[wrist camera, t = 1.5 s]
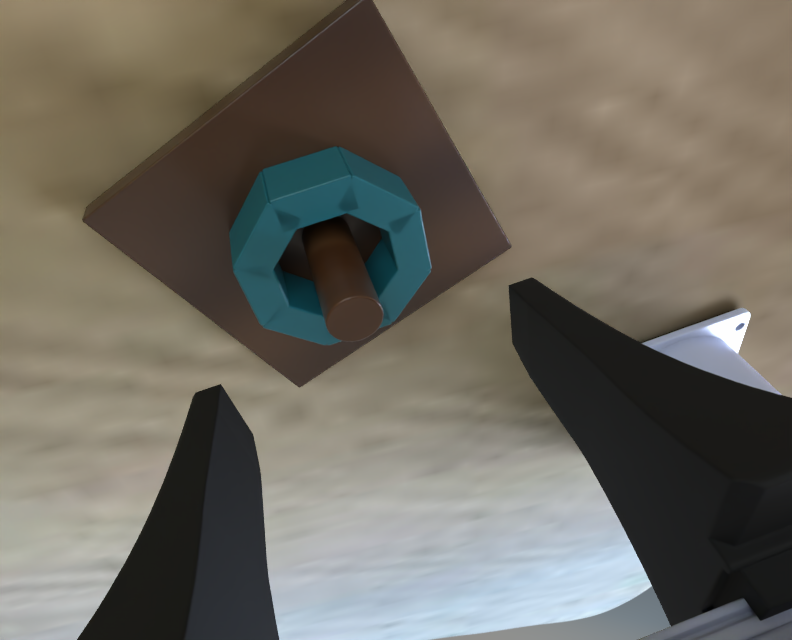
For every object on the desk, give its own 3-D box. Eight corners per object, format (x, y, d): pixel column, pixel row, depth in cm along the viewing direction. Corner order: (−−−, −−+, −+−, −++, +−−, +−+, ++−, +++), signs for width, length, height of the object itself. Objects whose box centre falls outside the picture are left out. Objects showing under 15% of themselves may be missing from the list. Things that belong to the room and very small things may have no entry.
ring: (421, 274, 20) (439, 308, 19) (272, 325, 20) (278, 363, 18) (391, 127, 16) (410, 155, 15) (205, 186, 16) (206, 220, 15)
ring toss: (504, 236, 21) (571, 321, 18) (296, 374, 23) (317, 480, 19) (361, -13, 15) (421, 38, 11) (84, 207, 16) (53, 318, 13)
